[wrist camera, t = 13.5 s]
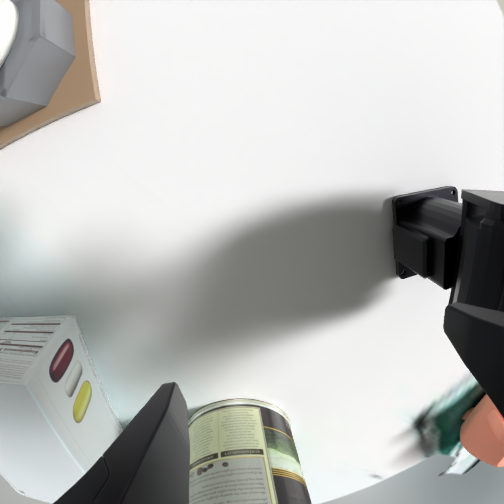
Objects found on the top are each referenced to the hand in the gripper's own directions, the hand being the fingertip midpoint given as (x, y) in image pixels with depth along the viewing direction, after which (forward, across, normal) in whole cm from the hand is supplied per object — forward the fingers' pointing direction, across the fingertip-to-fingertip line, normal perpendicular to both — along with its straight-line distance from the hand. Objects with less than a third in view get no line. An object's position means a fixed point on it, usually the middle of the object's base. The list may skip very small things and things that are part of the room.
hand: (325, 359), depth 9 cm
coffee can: (+13, +6, +18) cm, 23 cm away
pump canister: (+13, +14, -18) cm, 26 cm away
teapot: (+13, -29, +32) cm, 45 cm away
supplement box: (+13, +23, +10) cm, 28 cm away
